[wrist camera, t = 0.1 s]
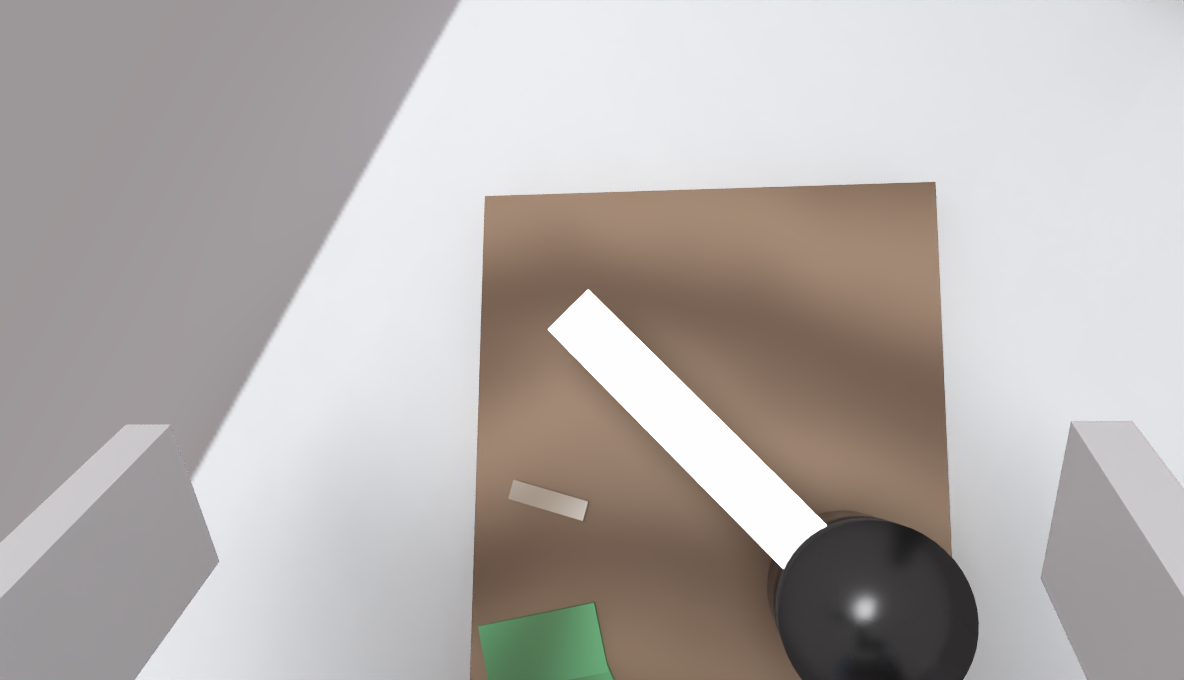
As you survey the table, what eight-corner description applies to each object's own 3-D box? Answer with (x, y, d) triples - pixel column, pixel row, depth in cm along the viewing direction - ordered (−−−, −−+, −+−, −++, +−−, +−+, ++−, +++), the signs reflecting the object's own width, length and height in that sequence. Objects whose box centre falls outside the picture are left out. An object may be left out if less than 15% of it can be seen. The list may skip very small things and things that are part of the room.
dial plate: (958, 1023, 25) (975, 1063, 23) (474, 977, 27) (457, 1010, 25) (924, 196, 28) (936, 179, 27) (496, 209, 30) (483, 194, 29)
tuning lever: (962, 593, 25) (1021, 624, 20) (849, 705, 25) (881, 763, 20) (640, 281, 27) (623, 240, 22) (539, 382, 27) (498, 364, 22)
